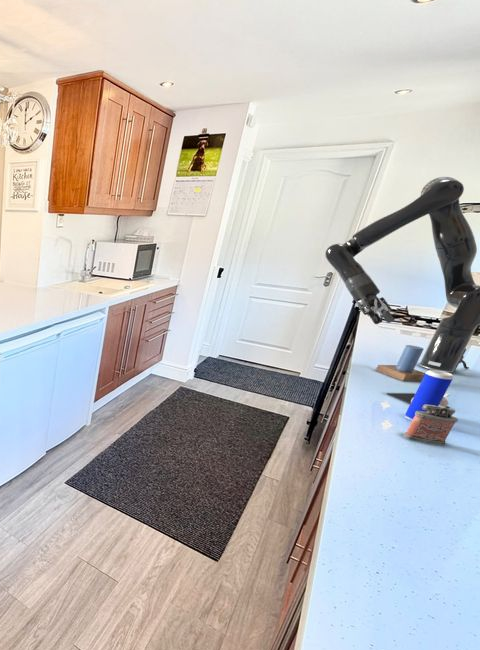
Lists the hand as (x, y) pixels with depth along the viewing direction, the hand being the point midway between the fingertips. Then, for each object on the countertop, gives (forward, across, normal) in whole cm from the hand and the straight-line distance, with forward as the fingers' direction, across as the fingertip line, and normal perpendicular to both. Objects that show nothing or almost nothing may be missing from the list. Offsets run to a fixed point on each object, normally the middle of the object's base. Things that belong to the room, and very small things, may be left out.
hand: (385, 322), depth 154 cm
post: (+18, 0, +3) cm, 19 cm away
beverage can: (+36, -43, -10) cm, 57 cm away
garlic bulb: (+35, -35, -9) cm, 50 cm away
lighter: (+41, -57, -15) cm, 71 cm away
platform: (+20, 0, +5) cm, 21 cm away
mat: (+30, -25, -5) cm, 40 cm away
